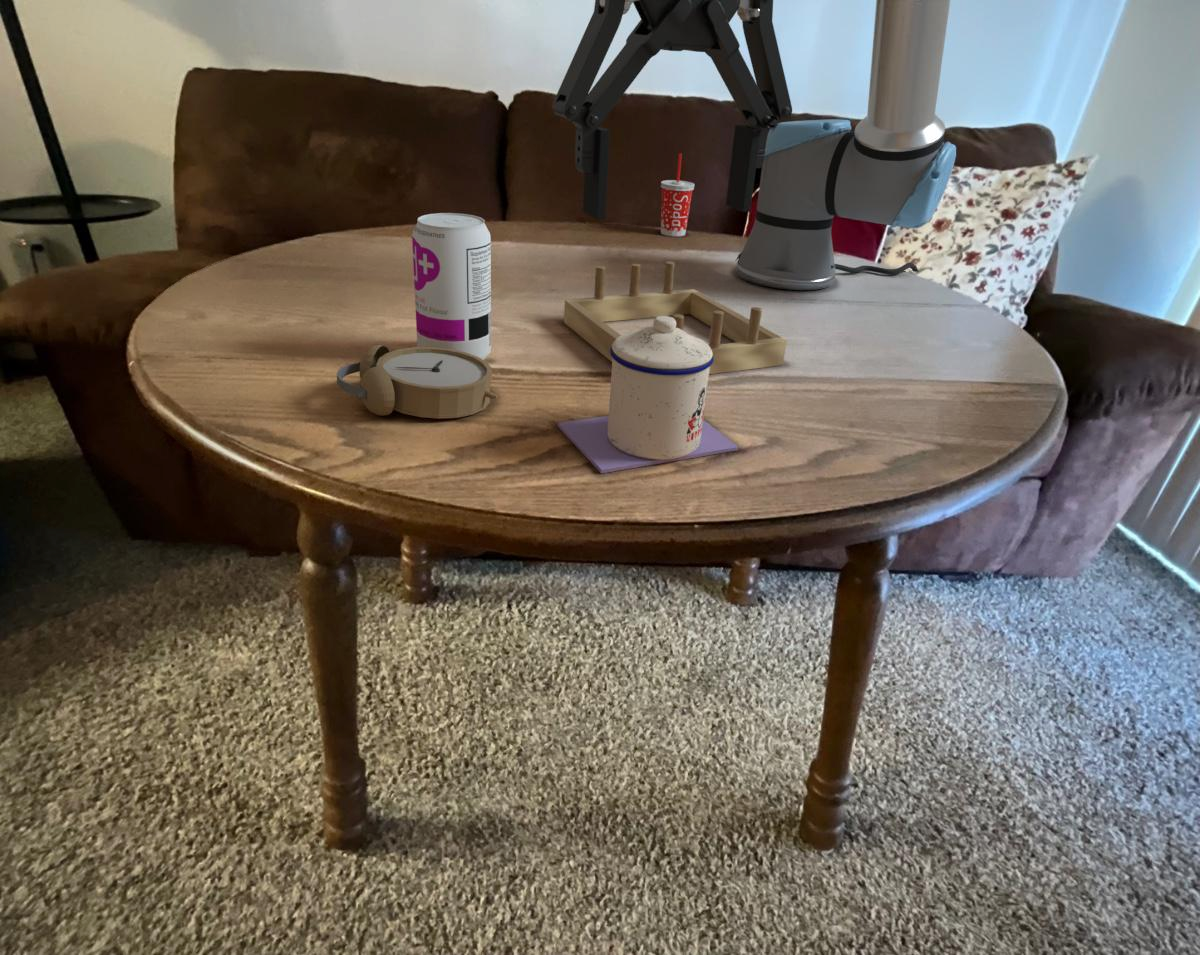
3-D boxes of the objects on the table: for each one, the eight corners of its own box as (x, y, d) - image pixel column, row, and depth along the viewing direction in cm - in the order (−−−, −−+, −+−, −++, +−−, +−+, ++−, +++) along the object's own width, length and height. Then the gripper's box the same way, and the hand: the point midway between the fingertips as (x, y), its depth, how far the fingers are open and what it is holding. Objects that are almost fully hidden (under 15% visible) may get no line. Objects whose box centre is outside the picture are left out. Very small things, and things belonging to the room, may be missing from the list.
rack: (692, 310, 116) (698, 259, 112) (783, 365, 99) (793, 306, 96) (563, 322, 108) (565, 268, 105) (637, 383, 91) (643, 321, 88)
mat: (684, 408, 86) (684, 404, 86) (737, 450, 78) (738, 446, 78) (557, 426, 81) (557, 422, 81) (601, 473, 73) (601, 469, 73)
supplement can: (431, 372, 91) (425, 230, 84) (409, 347, 97) (402, 213, 90) (501, 363, 94) (502, 226, 87) (476, 339, 101) (474, 210, 93)
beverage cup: (654, 235, 155) (661, 154, 148) (658, 228, 160) (665, 150, 153) (688, 238, 154) (696, 157, 147) (690, 231, 159) (698, 152, 153)
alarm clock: (503, 390, 80) (338, 370, 75) (494, 437, 82) (333, 420, 77) (487, 349, 90) (340, 329, 85) (479, 392, 92) (335, 375, 87)
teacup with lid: (707, 465, 75) (724, 339, 69) (605, 460, 74) (613, 333, 69) (694, 409, 85) (707, 296, 79) (603, 404, 85) (611, 291, 79)
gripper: (806, -78, 67) (767, 197, 78) (510, -110, 58) (510, 208, 68) (869, -83, 62) (818, 214, 72) (551, -121, 52) (545, 229, 62)
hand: (668, 212), depth 70 cm, fingers open, 13 cm apart
